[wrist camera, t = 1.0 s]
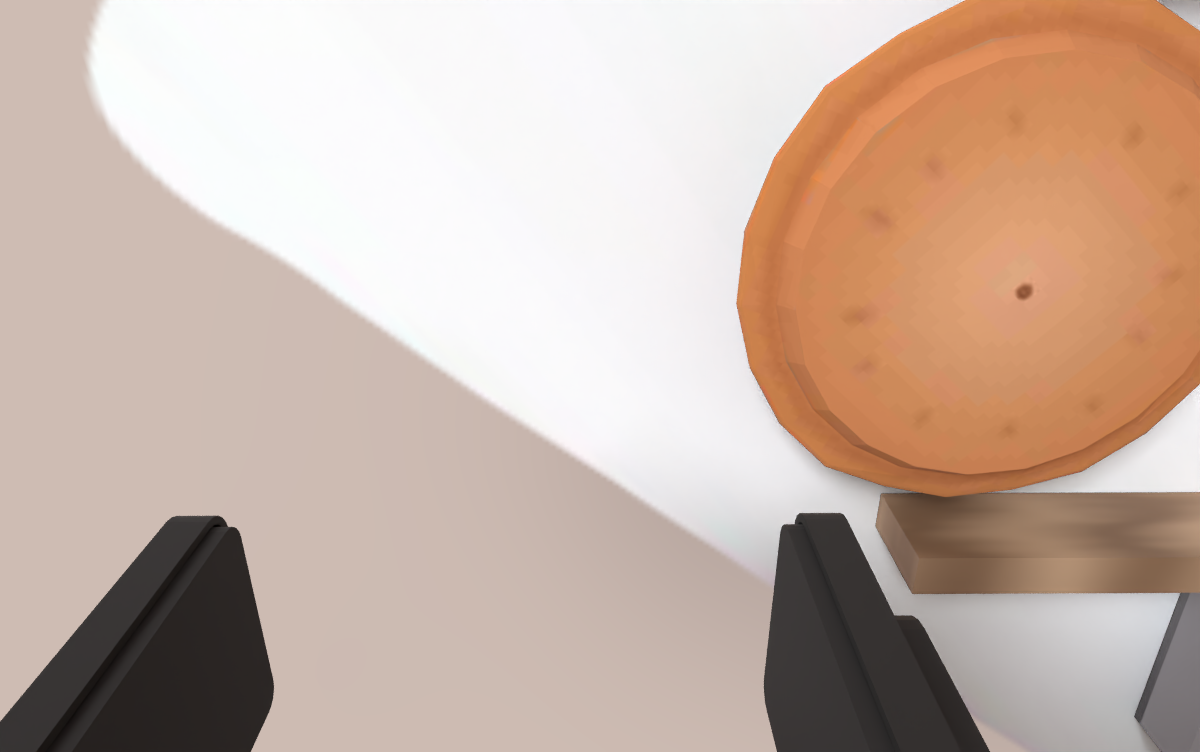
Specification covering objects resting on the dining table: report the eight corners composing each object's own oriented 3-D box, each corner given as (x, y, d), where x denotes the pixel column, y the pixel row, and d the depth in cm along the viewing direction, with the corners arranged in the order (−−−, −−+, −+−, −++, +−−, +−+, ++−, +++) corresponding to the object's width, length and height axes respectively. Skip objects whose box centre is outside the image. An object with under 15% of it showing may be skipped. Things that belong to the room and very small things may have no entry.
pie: (705, 22, 24) (731, 25, 20) (1238, -45, 23) (1393, -58, 19) (730, 465, 30) (754, 545, 26) (1149, 422, 30) (1249, 496, 25)
